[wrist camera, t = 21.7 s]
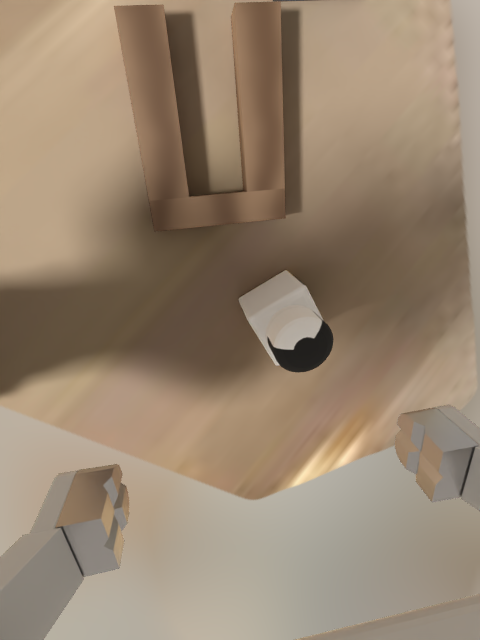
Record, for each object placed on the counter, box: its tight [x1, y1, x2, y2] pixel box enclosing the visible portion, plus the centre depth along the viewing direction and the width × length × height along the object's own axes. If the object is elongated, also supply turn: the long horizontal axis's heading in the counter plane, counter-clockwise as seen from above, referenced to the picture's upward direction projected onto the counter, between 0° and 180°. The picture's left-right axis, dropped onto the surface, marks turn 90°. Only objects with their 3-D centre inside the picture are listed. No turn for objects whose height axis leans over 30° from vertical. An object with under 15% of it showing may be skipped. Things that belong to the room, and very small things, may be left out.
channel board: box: [114, 2, 286, 232], centre depth 32 cm, size 14×18×2 cm
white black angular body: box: [239, 270, 333, 372], centre depth 36 cm, size 7×7×12 cm
